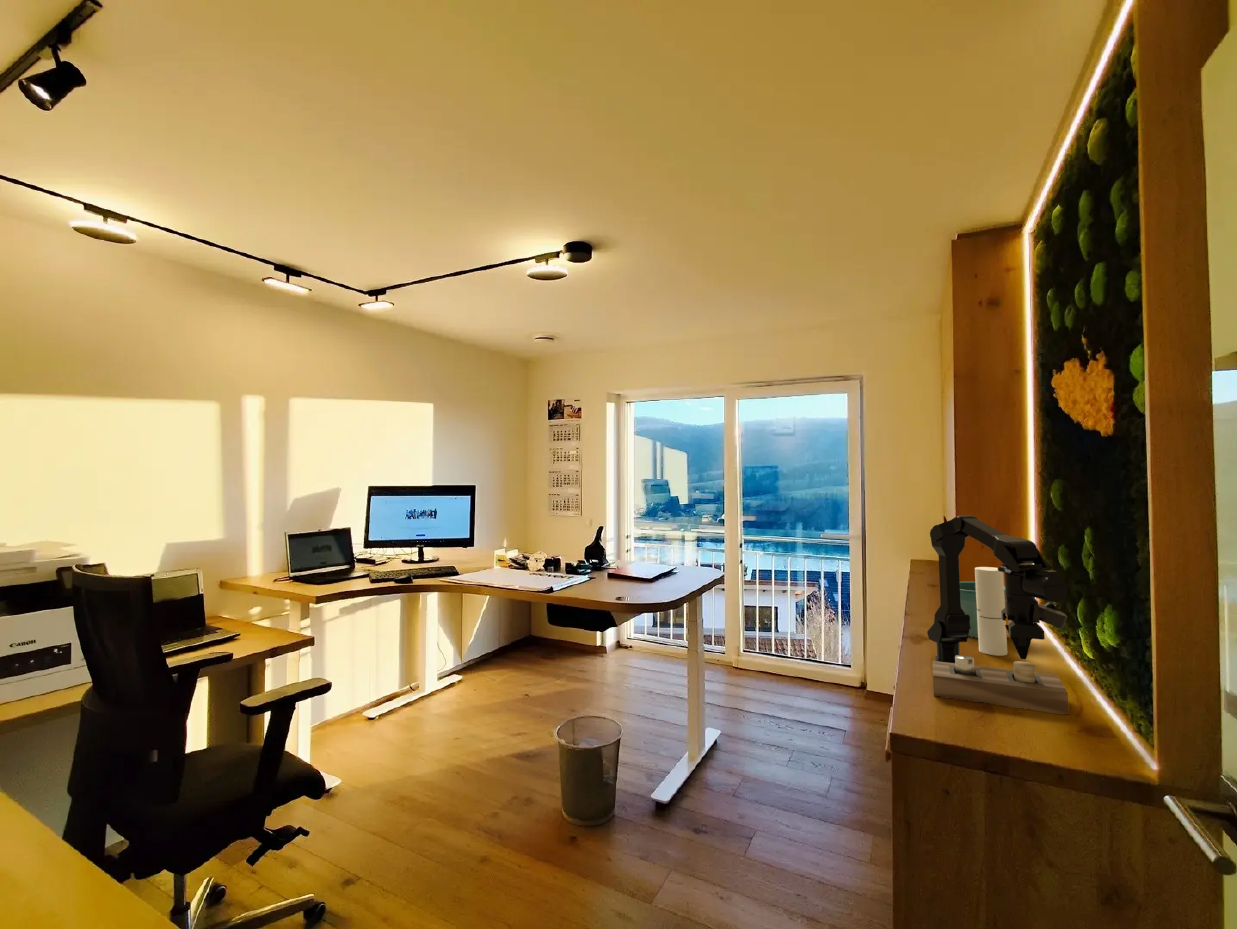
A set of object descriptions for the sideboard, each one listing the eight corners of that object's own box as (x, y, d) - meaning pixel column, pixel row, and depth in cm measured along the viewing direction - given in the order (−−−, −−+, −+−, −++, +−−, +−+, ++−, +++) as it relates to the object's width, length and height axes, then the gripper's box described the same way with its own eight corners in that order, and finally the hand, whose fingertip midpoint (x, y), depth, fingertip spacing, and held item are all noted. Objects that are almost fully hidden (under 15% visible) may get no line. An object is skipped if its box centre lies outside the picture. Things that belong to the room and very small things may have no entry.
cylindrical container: (998, 648, 169) (994, 566, 170) (1012, 655, 162) (1008, 570, 163) (974, 648, 170) (969, 567, 171) (987, 655, 163) (982, 570, 164)
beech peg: (1013, 680, 133) (1012, 660, 133) (1033, 682, 131) (1032, 662, 132) (1015, 685, 130) (1014, 665, 130) (1036, 688, 128) (1035, 667, 128)
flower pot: (983, 643, 174) (980, 592, 175) (939, 630, 190) (937, 583, 190) (1021, 637, 179) (1019, 588, 179) (976, 625, 195) (974, 580, 195)
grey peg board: (933, 679, 145) (932, 660, 145) (1057, 695, 132) (1056, 675, 132) (933, 696, 135) (932, 675, 135) (1068, 715, 122) (1067, 692, 122)
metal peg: (955, 673, 139) (954, 654, 139) (974, 675, 137) (973, 656, 137) (956, 678, 136) (955, 658, 136) (975, 680, 134) (974, 661, 134)
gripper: (1071, 604, 119) (1075, 676, 119) (1054, 588, 136) (1057, 651, 135) (1009, 600, 125) (1012, 669, 124) (999, 585, 141) (1002, 646, 141)
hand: (1023, 658), depth 131 cm, fingers closed
